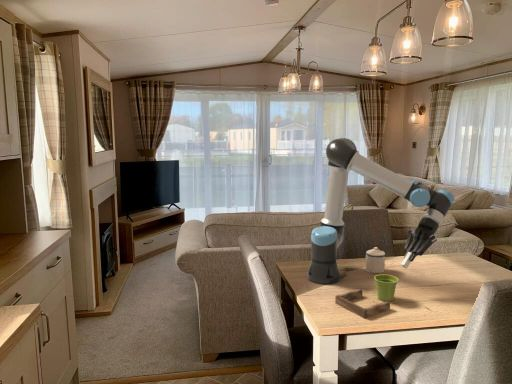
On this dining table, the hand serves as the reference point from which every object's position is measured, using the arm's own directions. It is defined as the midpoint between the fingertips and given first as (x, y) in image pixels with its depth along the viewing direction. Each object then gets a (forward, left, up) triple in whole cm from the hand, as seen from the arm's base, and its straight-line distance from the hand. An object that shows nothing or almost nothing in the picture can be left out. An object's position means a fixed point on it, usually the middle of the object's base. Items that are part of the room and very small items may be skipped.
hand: (403, 266), depth 165 cm
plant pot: (-5, -8, -12) cm, 16 cm away
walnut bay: (-12, -19, -12) cm, 26 cm away
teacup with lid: (-17, +24, -12) cm, 32 cm away
